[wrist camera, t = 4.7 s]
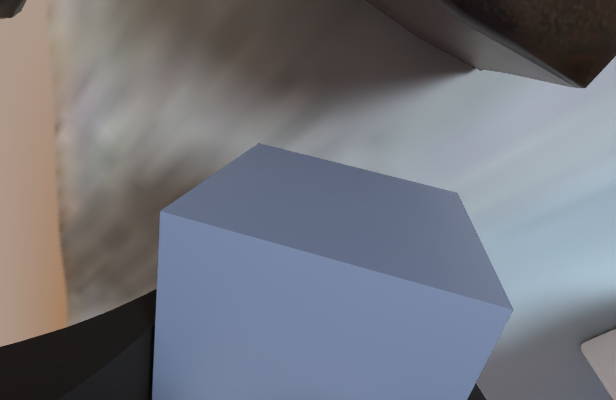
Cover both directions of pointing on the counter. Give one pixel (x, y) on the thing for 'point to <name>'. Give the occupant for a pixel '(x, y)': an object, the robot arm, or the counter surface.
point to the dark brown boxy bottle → (504, 34)
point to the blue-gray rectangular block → (320, 287)
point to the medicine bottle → (603, 359)
